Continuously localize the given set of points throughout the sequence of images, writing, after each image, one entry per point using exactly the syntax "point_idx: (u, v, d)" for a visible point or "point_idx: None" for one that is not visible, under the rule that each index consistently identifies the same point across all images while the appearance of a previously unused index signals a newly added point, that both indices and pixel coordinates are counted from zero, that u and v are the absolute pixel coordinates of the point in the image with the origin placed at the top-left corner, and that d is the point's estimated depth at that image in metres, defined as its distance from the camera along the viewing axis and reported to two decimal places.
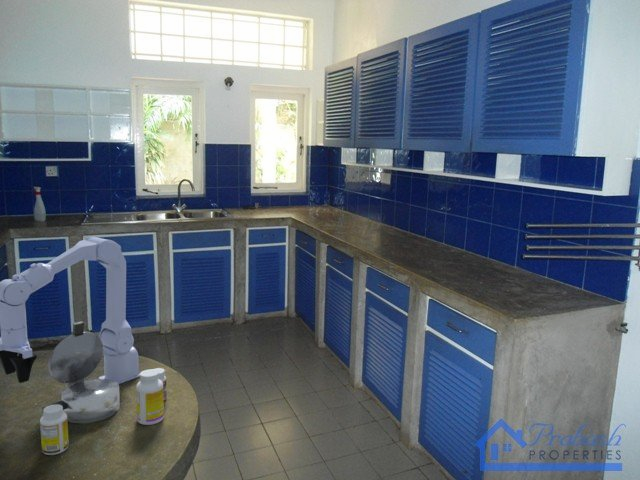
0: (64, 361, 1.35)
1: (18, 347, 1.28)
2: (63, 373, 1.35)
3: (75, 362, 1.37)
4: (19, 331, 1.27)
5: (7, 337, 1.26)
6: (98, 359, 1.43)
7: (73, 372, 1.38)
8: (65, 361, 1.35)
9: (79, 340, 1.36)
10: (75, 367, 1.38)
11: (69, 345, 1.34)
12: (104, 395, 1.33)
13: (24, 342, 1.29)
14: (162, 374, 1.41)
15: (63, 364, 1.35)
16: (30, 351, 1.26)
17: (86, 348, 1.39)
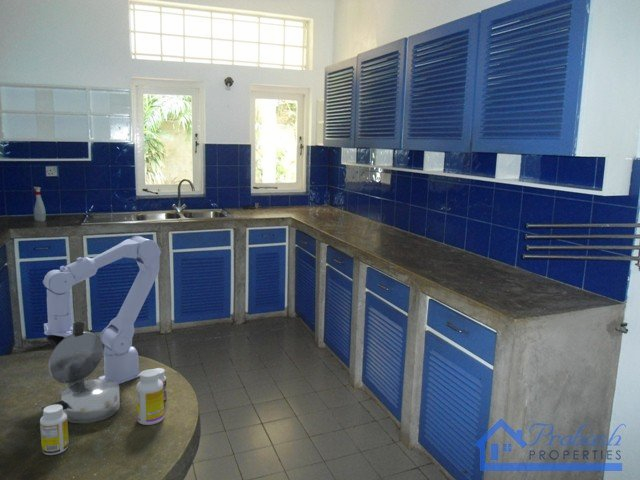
0: (64, 361, 1.35)
1: (64, 332, 1.40)
2: (63, 373, 1.35)
3: (75, 362, 1.37)
4: (64, 317, 1.40)
5: (54, 322, 1.39)
6: (98, 359, 1.43)
7: (73, 372, 1.38)
8: (65, 361, 1.35)
9: (79, 340, 1.36)
10: (75, 367, 1.38)
11: (69, 345, 1.34)
12: (104, 395, 1.33)
13: (69, 327, 1.41)
14: (162, 374, 1.41)
15: (63, 364, 1.35)
16: None
17: (86, 348, 1.39)
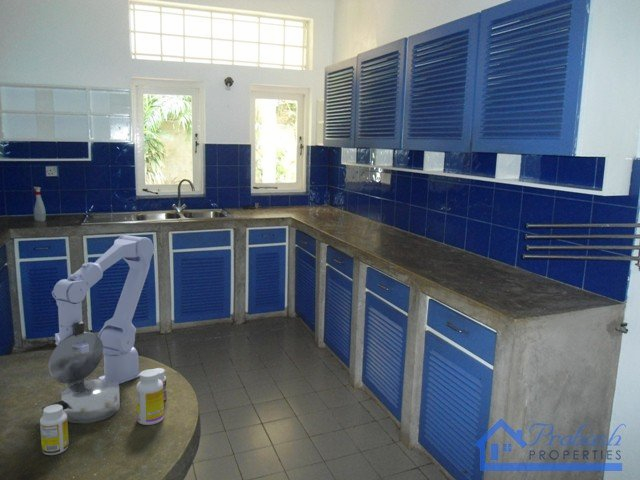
0: (64, 362, 1.35)
1: None
2: (63, 373, 1.35)
3: (75, 362, 1.37)
4: None
5: (65, 333, 1.35)
6: (98, 359, 1.43)
7: (73, 372, 1.38)
8: (65, 361, 1.35)
9: (79, 340, 1.36)
10: (75, 367, 1.38)
11: (69, 345, 1.34)
12: (104, 395, 1.33)
13: None
14: (162, 374, 1.41)
15: (64, 364, 1.35)
16: (87, 346, 1.35)
17: None
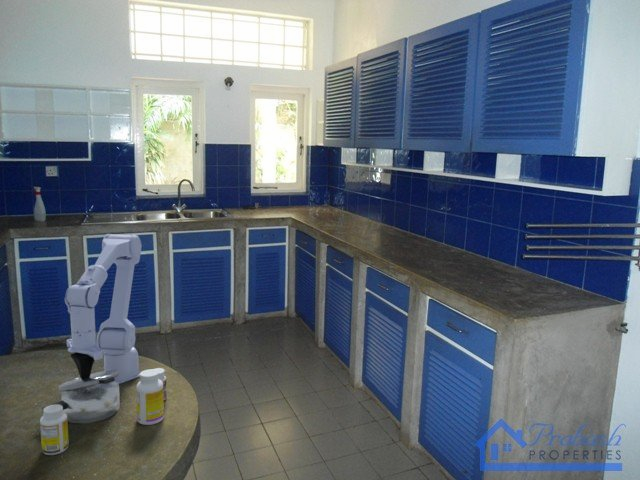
0: None
1: (88, 349, 1.33)
2: None
3: None
4: (89, 334, 1.32)
5: (78, 339, 1.31)
6: None
7: None
8: None
9: None
10: None
11: None
12: (104, 395, 1.33)
13: (93, 344, 1.34)
14: (162, 374, 1.41)
15: None
16: (101, 353, 1.31)
17: None
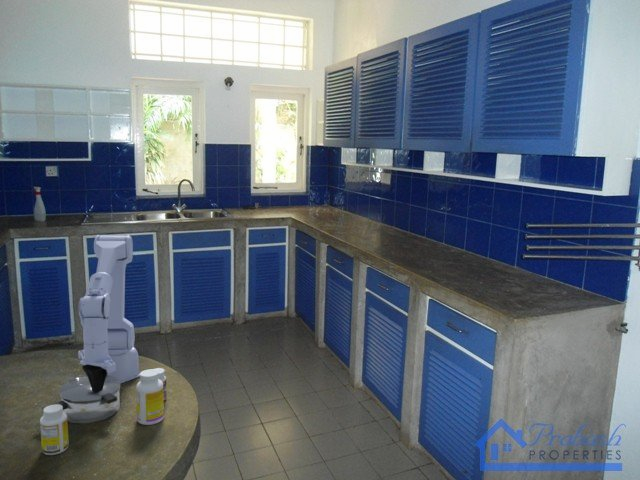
0: None
1: (101, 361, 1.29)
2: None
3: None
4: (102, 346, 1.29)
5: (90, 351, 1.28)
6: None
7: None
8: None
9: None
10: None
11: None
12: None
13: (106, 356, 1.31)
14: (162, 374, 1.41)
15: None
16: (114, 365, 1.28)
17: None
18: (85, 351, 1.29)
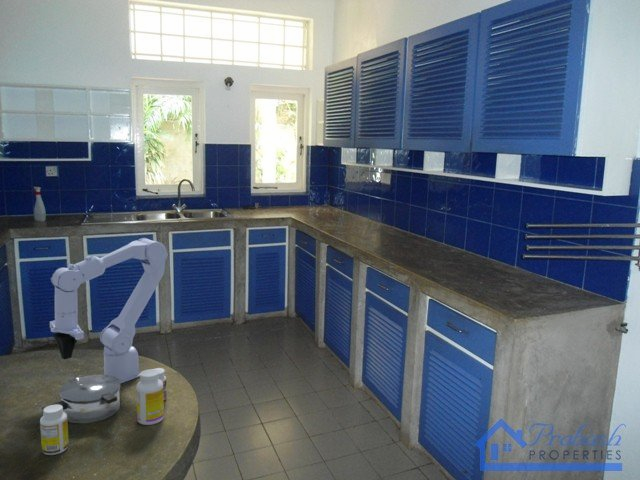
0: None
1: (70, 330, 1.40)
2: None
3: None
4: (71, 315, 1.40)
5: (61, 320, 1.39)
6: None
7: None
8: None
9: None
10: None
11: None
12: None
13: (75, 325, 1.42)
14: (162, 374, 1.41)
15: None
16: (82, 333, 1.39)
17: None
18: (56, 320, 1.40)
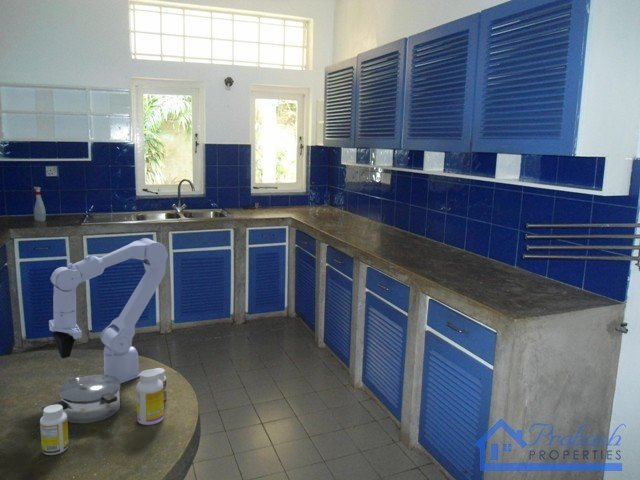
0: None
1: (69, 329, 1.41)
2: None
3: None
4: (70, 314, 1.41)
5: (59, 319, 1.40)
6: None
7: None
8: None
9: None
10: None
11: None
12: None
13: (74, 325, 1.42)
14: (162, 374, 1.41)
15: None
16: (80, 332, 1.39)
17: None
18: (54, 319, 1.40)
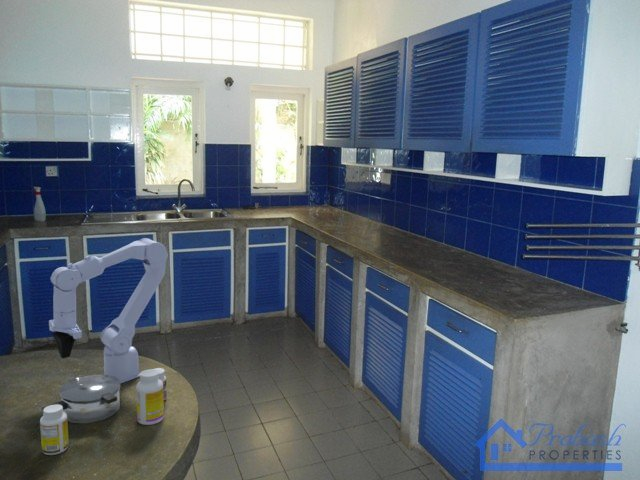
0: None
1: (69, 329, 1.41)
2: None
3: None
4: (70, 314, 1.41)
5: (59, 319, 1.40)
6: None
7: None
8: None
9: None
10: None
11: None
12: None
13: (74, 325, 1.42)
14: (162, 374, 1.41)
15: None
16: (80, 332, 1.39)
17: None
18: (54, 319, 1.40)
